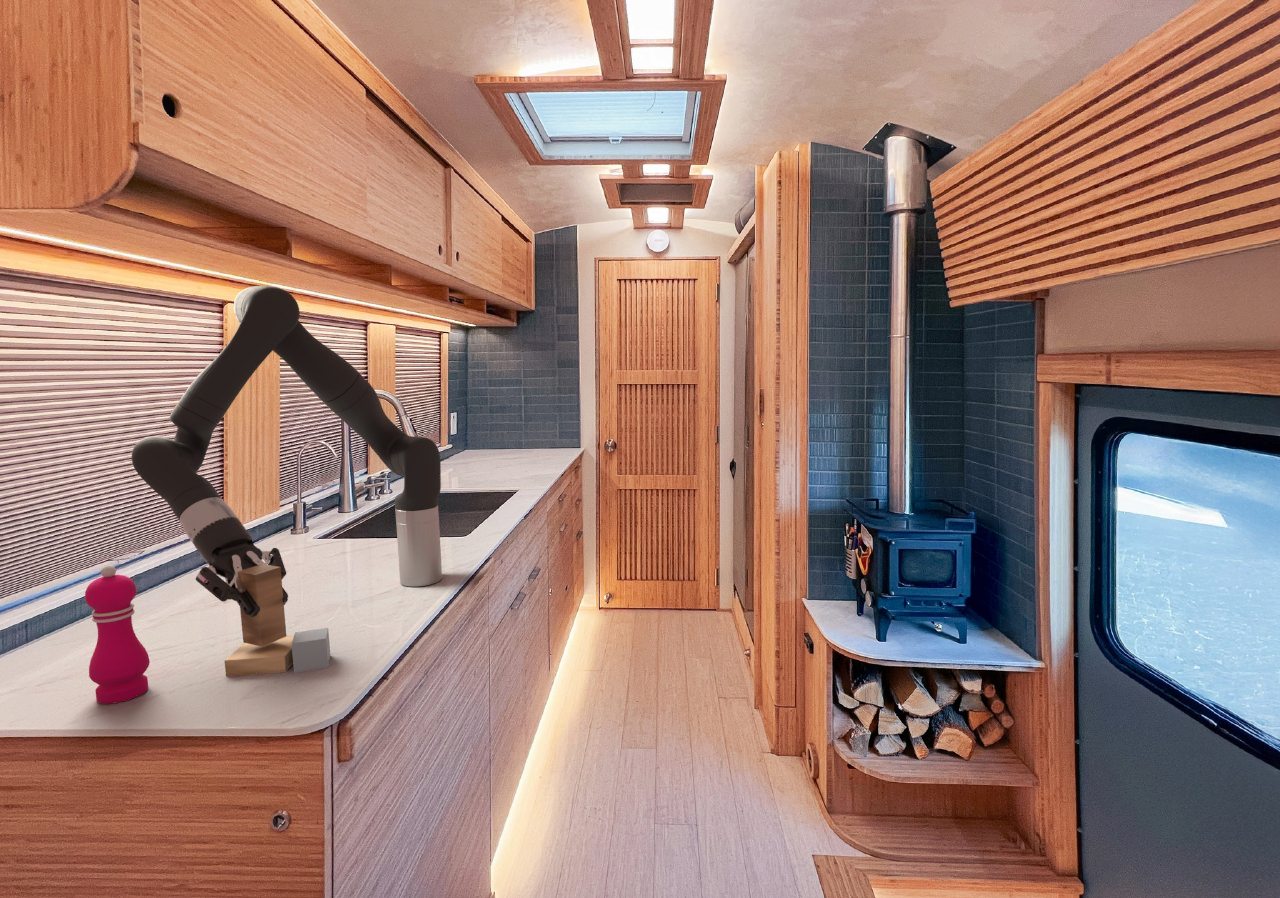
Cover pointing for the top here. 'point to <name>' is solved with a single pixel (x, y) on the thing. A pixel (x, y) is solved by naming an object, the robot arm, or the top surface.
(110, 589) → the pepper mill
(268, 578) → the walnut pillar
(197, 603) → the top surface
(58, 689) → the top surface
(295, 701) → the top surface
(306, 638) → the slate block
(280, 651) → the oak base
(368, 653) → the top surface
